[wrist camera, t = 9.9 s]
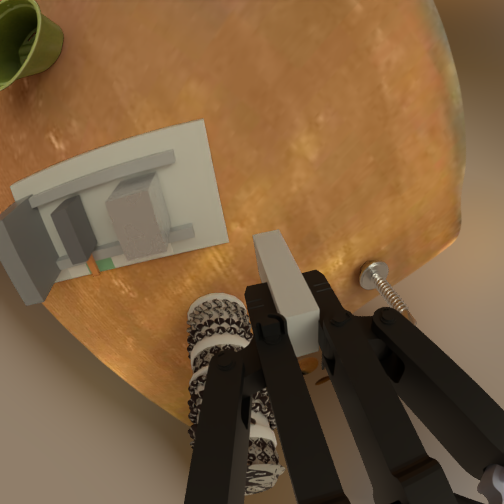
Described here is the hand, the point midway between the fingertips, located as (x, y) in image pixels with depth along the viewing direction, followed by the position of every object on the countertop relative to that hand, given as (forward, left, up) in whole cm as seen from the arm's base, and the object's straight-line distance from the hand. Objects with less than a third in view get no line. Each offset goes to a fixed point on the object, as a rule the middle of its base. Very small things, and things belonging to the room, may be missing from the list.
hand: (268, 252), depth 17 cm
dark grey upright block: (+2, -18, -15) cm, 23 cm away
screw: (+17, +17, -17) cm, 30 cm away
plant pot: (-21, -18, -17) cm, 32 cm away
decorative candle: (+19, -6, -17) cm, 27 cm away
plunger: (0, -10, -15) cm, 18 cm away
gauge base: (0, -14, -17) cm, 22 cm away
